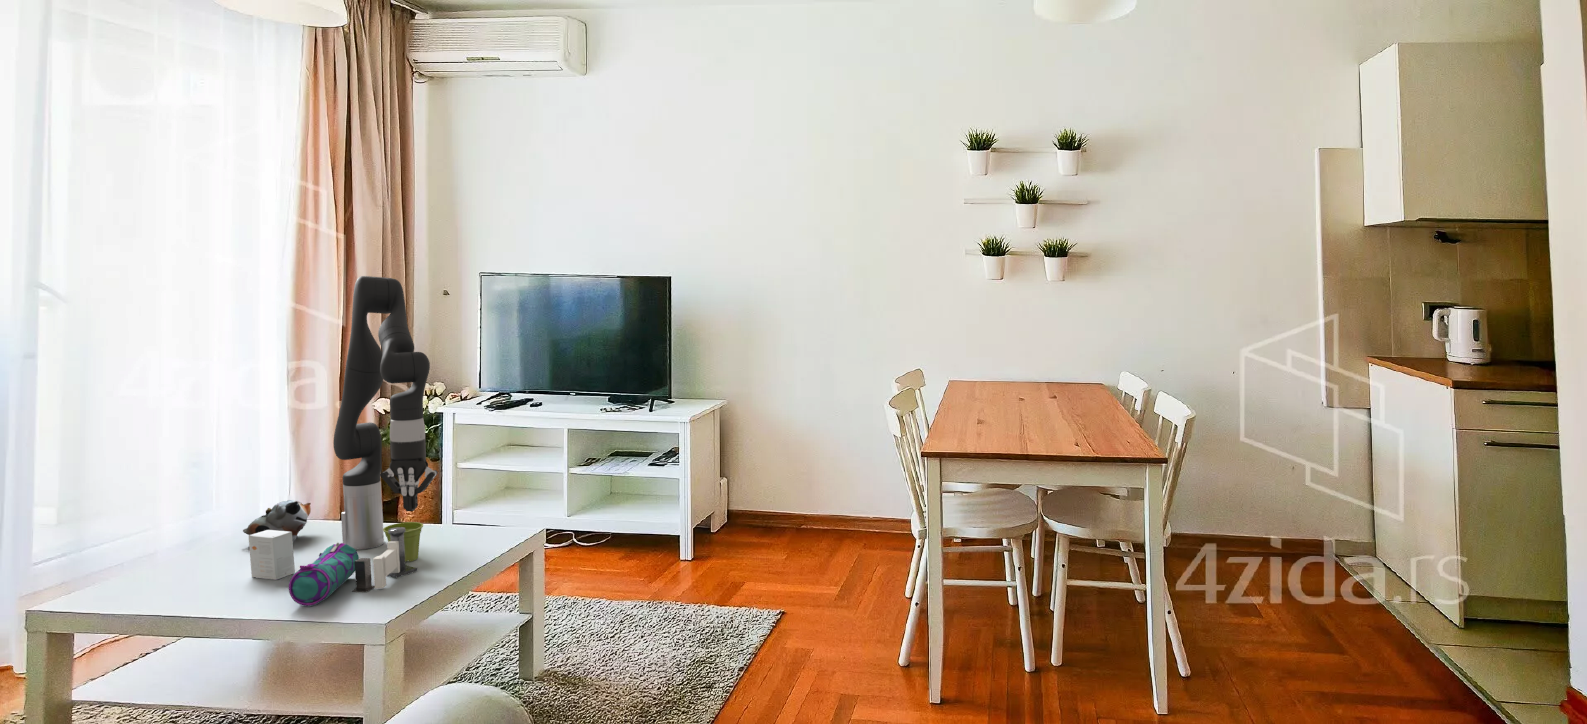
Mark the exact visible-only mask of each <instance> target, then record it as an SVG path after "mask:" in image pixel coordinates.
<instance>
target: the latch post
mask: <svg viewBox="0 0 1587 724" xmlns="http://www.w3.org/2000/svg"><path fill="white" fill-rule="evenodd" d="M371 560H372V559H371V557H370V558H369V557H367V558H366V557H359V559H358V560H356V561H355V572H354V574H355V575H354V577H355V588H354V589H352V591H351V592H352V593H369V592H370V591H372V590H373V589H375V585H373V582H372V581H373V580H372V562H371Z"/></svg>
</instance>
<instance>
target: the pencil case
mask: <svg viewBox="0 0 1587 724" xmlns="http://www.w3.org/2000/svg"><path fill="white" fill-rule="evenodd" d="M358 559H360V557H359V553H358V551H357V549H354V548H353V547H351V546H349V545H347V544H343V542H338V541H337V542H336V543H333V544H331V545H330V546H328V547H327V548H326V549H325V550H323V552H320V553H319V554H318V558H317V559H316V560H314V561H313V562H312V563H309V564H307V565H299V568H300V569H299V570H297V571H295V573H293V574H292V576H291V577H290V580H289V583H288V593H289V595H290V597H291V599H292V600H293V601H294V602H295V603H296V604H298V605H301V606H303V607H312V606H313V607H314V606H316V605H318V604H320V603H321V602H323V601H324V600H326V599H328V597H330V596H331V595H332V594H333V593H335V591H336V590H337V589H338V588H339V587H341V586H342V585H344V583H346V581H348V579H349V578H350V577H351V576H353V575H354V574H355V561H356V560H358Z"/></svg>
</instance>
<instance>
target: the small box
mask: <svg viewBox="0 0 1587 724" xmlns="http://www.w3.org/2000/svg"><path fill="white" fill-rule="evenodd" d="M248 546H249V547H248V549H249V559H250V561H249V562H250V570H251V572H250V573H251V578H254V577H256V578H257V579H265V580H275V581H277V580H280V579H282V578H283V579H284V578H286V577H288V576H291V575H294V574H295V573H296V568H295V555H294V542H293V540H292V532H288V531H276V530H265V531H262V532H259V533H255V534H252V535H248ZM256 578H255V579H256Z"/></svg>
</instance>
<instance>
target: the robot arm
mask: <svg viewBox="0 0 1587 724" xmlns="http://www.w3.org/2000/svg"><path fill="white" fill-rule="evenodd" d="M353 287H354V288H353V293H352V294H353V295H352V309H351V310H352V312H351V326H350V327H351V329H350V337H349V343H348V350H347V356H346V361H345V369H344V376H343V377H344V380H343V389H342V397H341V401H340V402H341V403H340V407H339V412H338V417H337V420H336V424H335V429H334V435H333V442H332V443H333V452H334V454H335V457H337V458H338V459H339V460H342V461H348V460H355V459H360V461H359V463H358V464H357V465H356V466H354V467H352V468H351V469H349V470H347V471H345V473H343V475H342V489H343V490H342V491H343V506H344V511H342V512H341V514H340V518H341V534H342V535H341V536H342V537H341V538H342V543H343V544H347V545H349V546H351V547H353V548H354V549H355V550H367V549H372V548H376V547H379V546H382V545H383V544H385V543H384V542H385V538H384V537H385V536H384V531H383V529H384V516H383V500H382V498H383V497H382V482H381V478H382V480H383V481H384V482H385V483H386V485H387V486H388V487H389V488H390V489H391V490H392V491H393V493H395V494H399V495H401V496H402V504H403V505H402V507H403V510H405V511H406V512H414V511H416V509H417V508H418V506H419V503H418V500H419V499H418V498H419V497H418V496H419V494H421V493H423V492H424V491H425V490H426V489H427V488H428V487H429V486H430V484H431V483H432V482H433V480H434V479H435V478H436V477H437V475H438V474H439V473H438V471H437V470H436V469H434V470H433V469H432V468H430V467H429V463H428V461H427V452H426V447H427V446H426V427H425V421H424V396H425V395H424V394H425V389H426V385H427V381H428V377H429V374H430V369H431V368H430V367H431V363H430V359H429V357H428V356H427V355H426V354H425V353H424V352H421V351H415V344H414V340H413V338H412V335H411V332H410V330H409V325H408V319H407V317H408V316H407V308H406V301H405V300H406V299H405V293H404V288H403V285H402V284H401V282H400V280H398V279H396V278H393V277H382V276H373V275H371V276H370V275H360V276H359V277H357V279H356V281H355V283H354V286H353ZM369 313H370V314H383V315H385V314H386V315H388V316H387V317H386V318H385V319H384V320H383V321H382V322H381V324H380V326H379V327H378V331H377V335H378V336H377V337H378V341H379V344H380V345H379V344H378V342H377V340H376V339H375V338H374V335H373V334H372V332H371V329H370V326H369V324H368V314H369ZM383 381H385V382H387V383H389V384H406V383H409V384H410V383H411V385H410V387H409V388H408V389H407V390H405V391H402V392H398V393H395V394H392V395H391V396H390V398H389V412H390V413H389V414H390V425H389V441H390V443H389V445H390V458H391V459H390V460H391V461H390V463H389V467H388V468H387V469H386V470H384V471H382V470H383V469H382V467H383V466H382V463H383V462H382V449H383V448H382V435H381V430H380V427H378V425H377V424H376V423H374V422H362V423H361V422H360V423H359V422H358V421H359V419H360V416H361V413H362V412H363V411H364V409H365V408H366V407H367V406H368V404H369V403H370V402H371V401H372V400H373V399H374V397H375V396H376V394H377V393H378V391H379V390H380V389H381V387H382V385H383V383H384V382H383ZM423 475H424V477H425V478H424V480H423V481H422V482H421V483H420V479H421V478H422V477H423ZM395 477H396V478H397V479H396V478H395ZM419 484H420V485H419Z"/></svg>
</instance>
